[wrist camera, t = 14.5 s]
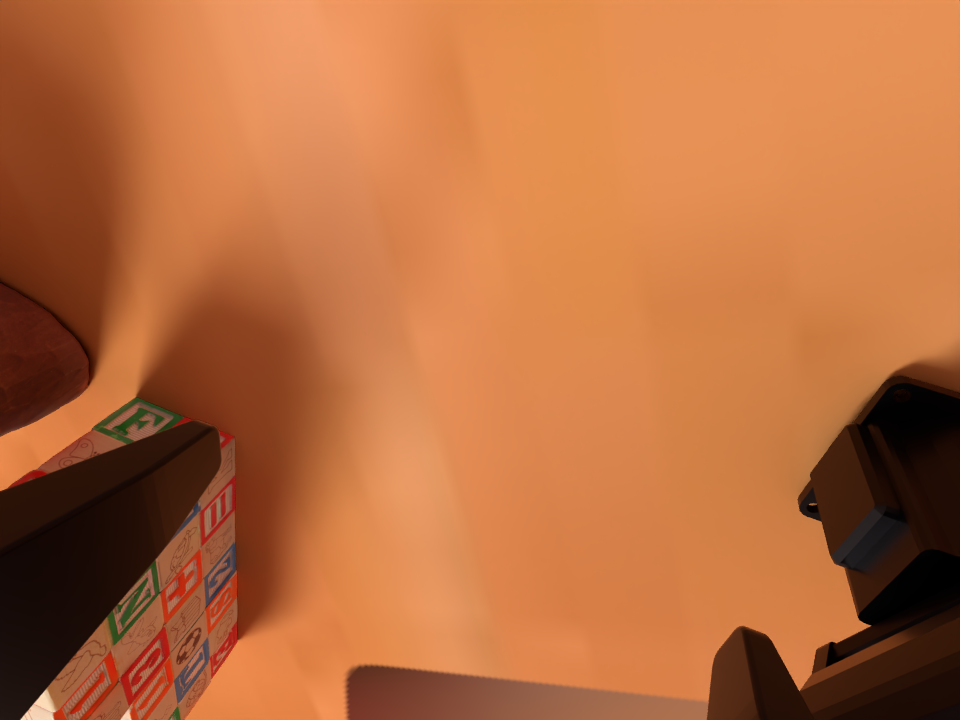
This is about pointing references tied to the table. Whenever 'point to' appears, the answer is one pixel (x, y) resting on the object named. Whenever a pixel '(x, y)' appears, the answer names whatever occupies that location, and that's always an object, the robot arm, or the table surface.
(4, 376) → the wooden figurine
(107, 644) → the stack of blocks
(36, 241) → the table surface
